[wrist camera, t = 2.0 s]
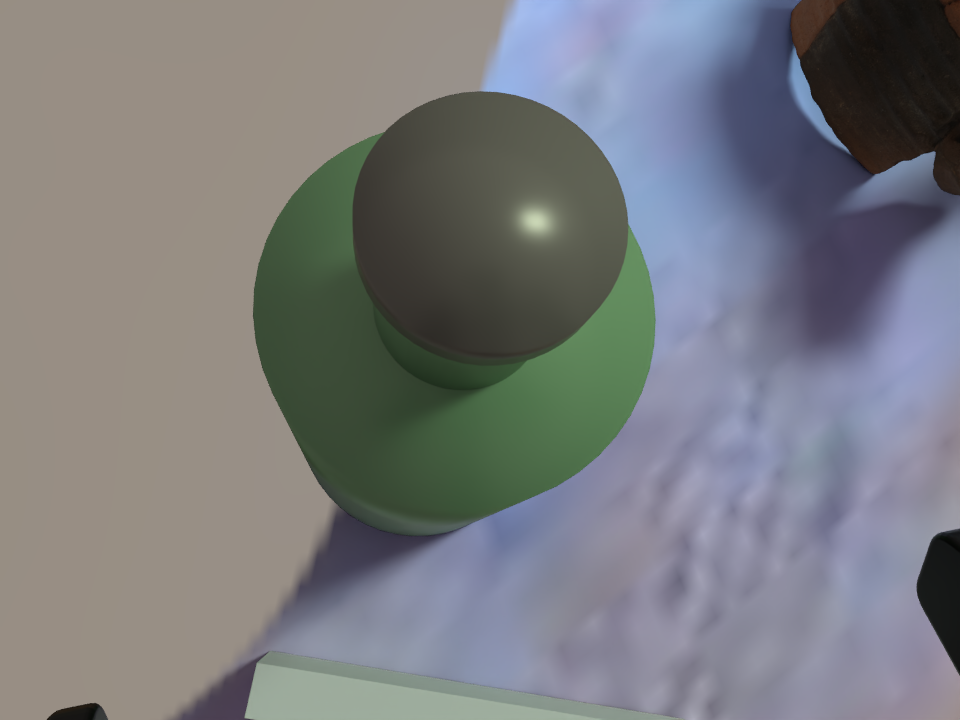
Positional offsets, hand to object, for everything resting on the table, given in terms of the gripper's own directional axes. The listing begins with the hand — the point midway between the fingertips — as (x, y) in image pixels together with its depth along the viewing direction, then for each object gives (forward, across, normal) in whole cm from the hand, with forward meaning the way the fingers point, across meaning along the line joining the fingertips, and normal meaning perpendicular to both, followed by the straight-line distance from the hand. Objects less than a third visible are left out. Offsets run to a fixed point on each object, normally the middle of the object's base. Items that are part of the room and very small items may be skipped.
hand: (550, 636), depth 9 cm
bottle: (+11, 0, +5) cm, 12 cm away
